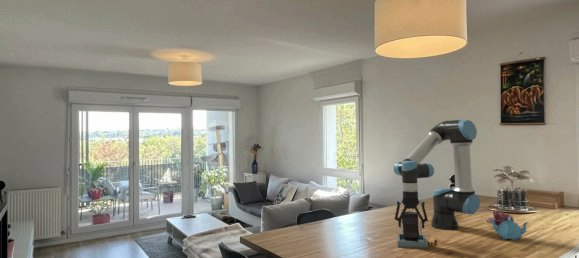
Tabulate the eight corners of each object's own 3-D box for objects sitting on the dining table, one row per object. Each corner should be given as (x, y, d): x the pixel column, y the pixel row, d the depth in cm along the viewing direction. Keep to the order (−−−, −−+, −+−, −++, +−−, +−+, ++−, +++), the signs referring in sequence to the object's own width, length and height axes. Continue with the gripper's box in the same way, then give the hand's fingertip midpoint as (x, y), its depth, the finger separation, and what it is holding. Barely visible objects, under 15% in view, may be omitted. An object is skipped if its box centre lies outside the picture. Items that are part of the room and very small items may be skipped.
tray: (425, 240, 188) (424, 234, 188) (428, 248, 174) (427, 242, 174) (396, 238, 192) (396, 233, 192) (397, 246, 178) (397, 240, 178)
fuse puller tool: (431, 239, 189) (430, 237, 189) (435, 240, 188) (435, 237, 188) (429, 245, 179) (429, 242, 179) (433, 245, 178) (433, 242, 178)
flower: (481, 223, 209) (486, 208, 208) (488, 222, 220) (493, 207, 219) (509, 235, 199) (515, 218, 198) (514, 233, 209) (520, 217, 209)
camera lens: (400, 240, 187) (399, 211, 187) (415, 239, 187) (413, 210, 188) (407, 244, 178) (405, 214, 179) (422, 243, 179) (420, 213, 180)
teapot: (530, 241, 182) (529, 221, 183) (508, 243, 180) (508, 223, 180) (510, 234, 195) (509, 216, 195) (489, 236, 192) (488, 218, 192)
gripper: (431, 189, 184) (432, 233, 184) (388, 189, 190) (389, 231, 189) (433, 192, 177) (434, 237, 176) (388, 191, 183) (389, 234, 182)
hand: (411, 234), depth 183 cm, fingers open, 9 cm apart
